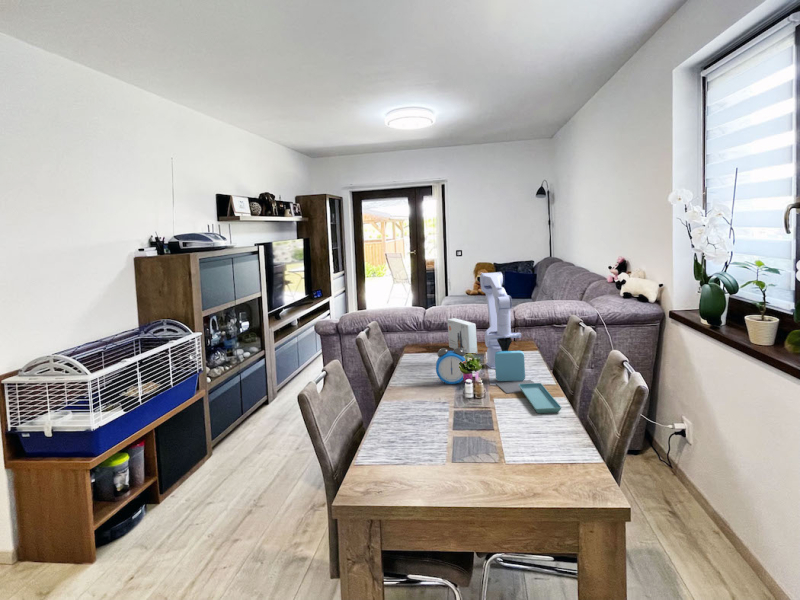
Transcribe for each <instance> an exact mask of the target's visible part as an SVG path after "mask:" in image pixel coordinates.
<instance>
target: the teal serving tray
mask: <svg viewBox="0 0 800 600" xmlns="http://www.w3.org/2000/svg"><path fill="white" fill-rule="evenodd" d="M518 385H519V387H520V389H521V391H522V392H521V393H522V394H523V395H524V396H525V398H526V399H527V401H528V403H529V404H530V405H531V406H532V408H533V409H534V410H535V412H536V413H537V414H547V413H549V414H550V413H551V414H553V413H559V412H560V411H561V410H562V406H561V405H560V403H559V402H558V401H557V400H556V399H555V398H554V397H553V396H552V395H551V393H550V392H549V391H548V389H547V388H546V387H545V386H544V384H542V383H541V382H534V383H530V384H518Z"/></svg>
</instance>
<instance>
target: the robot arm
mask: <svg viewBox="0 0 800 600" xmlns="http://www.w3.org/2000/svg"><path fill="white" fill-rule="evenodd" d="M503 276H504V275H503V273H502V271H497V272H481V273H480V274H479V285H480V289H481V292H483V293H484V294H485V297H486V304H487V313H488V322H489V327H488V328H487V329H486V330H485V332H484V343H485V346H486V348H487V350H486V362H485V365H486V366H487V367H489V368H490V369H494V370H495V353H496V352H498V351H509V349H510V346H511V344H512V342H513V339H515V338H517V339H520V338H522V333H521V332H512V329H511V328H512V326H511V325H512V323H511V321H512V320H511V319H512V318H511V317H512V315H511V310H512V308H513V300H512V296H511V295H508V293H507V292H506V289H505V288H504V287H503V284H504V282H503V281H504V277H503Z"/></svg>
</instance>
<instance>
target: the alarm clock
mask: <svg viewBox="0 0 800 600" xmlns="http://www.w3.org/2000/svg"><path fill="white" fill-rule="evenodd" d="M465 354H466V353H464V351H463V349H461V348H455V349H453V348H451V349H449V350H448V348H445V347H442V348H439V350H438V351H437V357H438V358H437V360H436V363H435V372H436V376H437V377H438V378H439V379H440V381H442V382H443V385H445V384H449V385H457V384H460V383H461V382H462V381H463V380H464V379H463V374H462V372H461V371H460V368H459V363H460V362H463V361H465V360H466V358H465Z"/></svg>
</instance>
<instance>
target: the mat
mask: <svg viewBox="0 0 800 600" xmlns="http://www.w3.org/2000/svg"><path fill="white" fill-rule="evenodd" d="M530 383H535V382H534V381H533V380H531V379H524V380H523V381H502V382H495V385H496V386H497V387H498V388H499V387H500V388H499V389H500V390H501V391H503V392H504V393H505V394H507V395H509V394H518V393H519V394H520V393H523V392H522V391H521V389H520V387H519V385H518V384H530Z"/></svg>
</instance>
